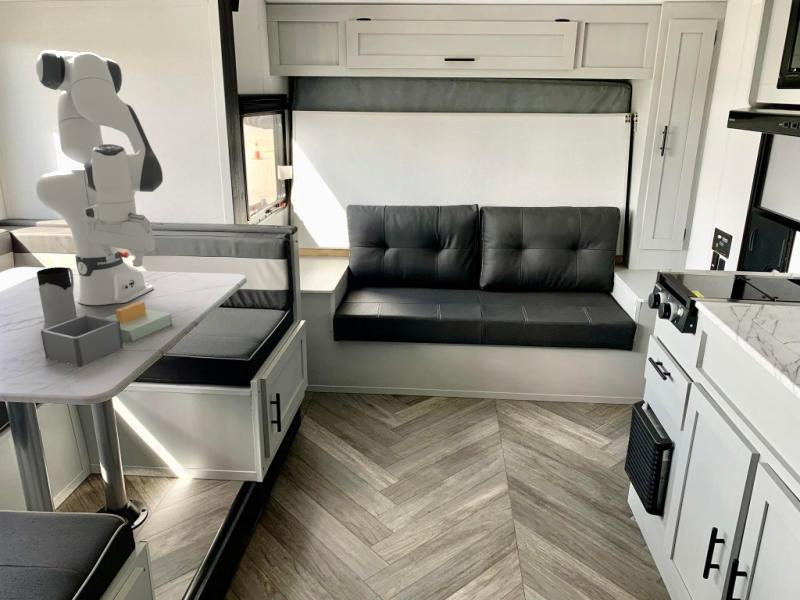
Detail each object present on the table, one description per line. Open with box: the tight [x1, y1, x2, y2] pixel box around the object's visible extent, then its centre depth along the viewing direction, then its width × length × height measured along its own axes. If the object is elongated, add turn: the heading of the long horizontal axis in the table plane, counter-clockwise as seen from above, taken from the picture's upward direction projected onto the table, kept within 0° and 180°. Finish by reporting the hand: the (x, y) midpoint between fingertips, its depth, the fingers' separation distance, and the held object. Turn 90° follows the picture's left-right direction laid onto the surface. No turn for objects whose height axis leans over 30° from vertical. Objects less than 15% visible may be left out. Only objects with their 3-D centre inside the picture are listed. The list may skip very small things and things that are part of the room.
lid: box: [104, 300, 173, 343], centre depth 167 cm, size 14×13×6 cm
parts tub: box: [40, 314, 124, 368], centre depth 152 cm, size 13×12×7 cm
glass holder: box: [36, 266, 79, 329], centre depth 172 cm, size 9×14×15 cm, turn 2°
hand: (124, 263), depth 163 cm, fingers open, 8 cm apart
